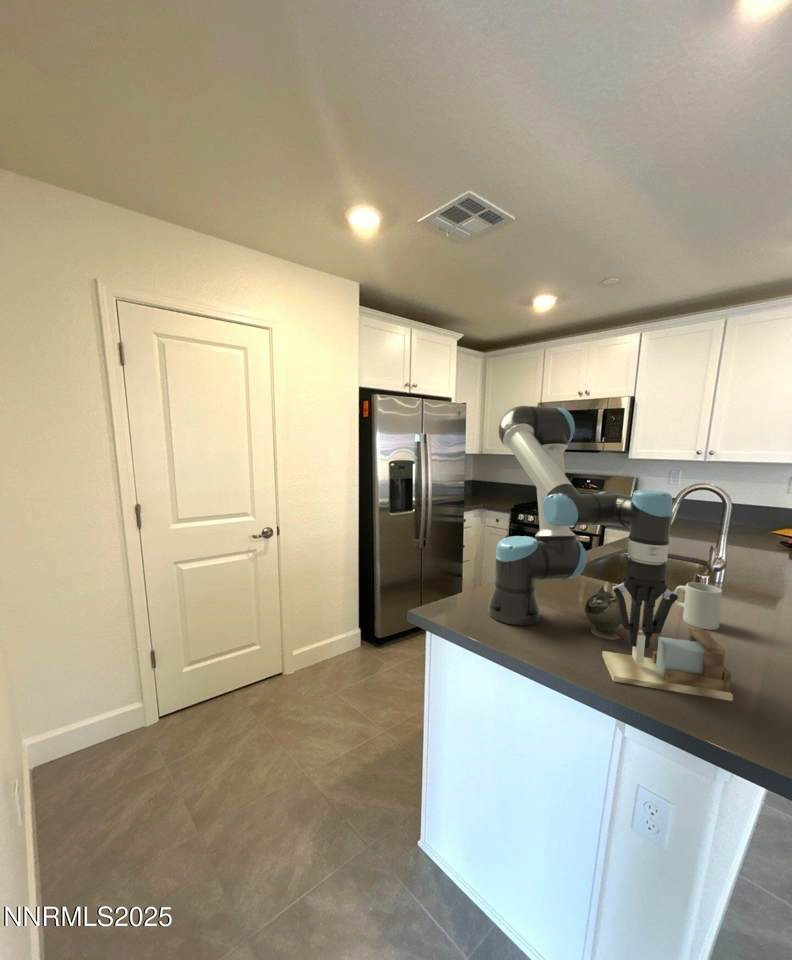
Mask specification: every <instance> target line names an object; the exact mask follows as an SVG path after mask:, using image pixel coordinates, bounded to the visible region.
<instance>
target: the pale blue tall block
mask: <svg viewBox="0 0 792 960" xmlns="http://www.w3.org/2000/svg"><path fill="white" fill-rule="evenodd" d="M656 651H657V662H656V666H657V668H658V669H659V671H660V672H661V674H662V675H663V677H664V678H665V669H671V670H677V671H684V672H690V673H697V674H702V672H703V662H704V652H705V649H704V648H703V647H702V646H701V645H700V644H699V643H698V642H695V641H688V639H680V638H679V639H677V638H673V637H665V636H658V641H657V650H656Z"/></svg>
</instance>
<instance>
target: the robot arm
mask: <svg viewBox="0 0 792 960" xmlns="http://www.w3.org/2000/svg"><path fill="white" fill-rule="evenodd" d="M575 430H576V426H575V420H574V417H573V415H572V414H571V413H570V412H569V411H568V410H567V409H565V408H562V407H556V406H533V405H531V406H530V405H519V406H514V407H513V408H511V409H509V410H507V411H506V412H505V414H504V415H503V416H502V417H501V419H500V421H499V425H498V438H499V441H500V442H501V444H502V445H503V447H504V448H505V449H507V450H508V451H510V452H512V453H513V455H514V456H515V458H516V459H517V460H518V462H519V464H520V466H521V467H522V469H524V471H525V473H526V474H527V475H528V477H529V478H530V480H531V481H532V483H533V484H534V486H535V487H536V497H537V507H538V508H537V509H538V511H537V512H538V522H539V523H538V524H539V525H538V526H539V531H537V532H536V534H535V535H534V536H535V537H533V536H527V535H523V536H521V535H514V536H513V535H512V536H507V537H504V538H502V539H501V540H499V541H498V542H497V544H496V551H495V570H494V571H495V576H494V578H495V579H494V588H493V590H492V594H491V595H490V598H489V600H488V604H487V613H488V615H489V616H490V617H491V618H492V619H494V620H495V621H498V622H501V623H503V624H509V625H513V626H530V625H534V624H536V623H538V622H539V621H540V618H541V616H540V615H541V610H540V607H539V602H538V599H537V595H536V582H537V581H539V582H540V581H553V580H563V581H566V580H568V579H575V578H577V577H579V576H581V574H582V573H583V571H584V570H585V567H586V563H587V552H586V549H585V548H584V545H583V543H582V542H580V541H578V540H577V537H576V533H574V532H573V531H572V530H571V529H570V527H573V526H601V525H602V526H606V525H607V526H609V525H615V526H619V527H623V528H626V529H629V535H628V546H627V556H628V558H627V559H626V568H625V577H624V578H623V579H622V583H620V584H618V585H616V584H613V585H611V588H610V589H612V591H613V594H614V595H616V599H617V604H618V610H619V615H620V620H621V624H620V625H621V626H622V627H623V629H624V630H625V631H629V634H628V643H629V645H630V646H631V647H632V653H631V655H632V657H633V658H634V660H635V662H638V663H643V659H644V657H645V656H644V655H645V649H649V648H650V644H651V643H650V642H651V638H652V637H653V636H654V635H655V634H657V635H660V634H661V633H662V631H663V628H664V625H665V622H666V620H667V618H668V615H669V614H670V611H671V609H672V605H673V604H674V603H675V601H676V600H677V599H678V596H677V595H676V594H675V591H673V590H670V589H668V587H667V584H666V577H667V569H668V568H667V566H668V565H667V564H666V562H667V561H668V555H669V545H670V544H669V543H670V535H671V525H672V518H673V514H674V511H673V496H672V495H671V493H669V492H666V491H663V490H662V491H661V490H652V489H636V490H634V491H633V493H632V495H626V494H622V493H617V492H614V491H600V492H597V493H580V492H579V491H578V490H577V488H575V486H574V485H573V484H572V482H571V481H570V480H569V478H568V477H567V475H566V473H565V471H566V470H565V460H564V452H565V451H566V450H567V449H568V446H569V443H570V442H571V441H572V439H573V438H574V434H575ZM626 591H627V592H628V594H629V595H630V597H631V598H630V599H631V604H630V617H629V614H628V610H627V604H626V600H625V596H624V595H625V594H626ZM661 596H662V598H661V599H660V602H659V604H658V607H657V610H656V611H655V607H656V601H657V600H658V599H659V598H660V597H661ZM642 606H643V611H642V620H641V622H642V623H641V629H640V619H641V610H642ZM654 611H655V612H656V613H655V615H654Z"/></svg>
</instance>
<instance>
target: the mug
mask: <svg viewBox="0 0 792 960" xmlns="http://www.w3.org/2000/svg"><path fill="white" fill-rule="evenodd" d="M681 591H683V592H685V593H684V602H682V601H680V597H679V596H680V592H681ZM674 593H675V594H676V595H677V596H678V599H677V600H676V601H675V602H674V603H675V605H676V606H677V607H679V608H681V609H683V613H682V620H683V622H684V623H686V624H688V625H690V626H692V627H694V628H696V629H700V630H708V631H709V630H710V631H715V630H718V629H719V628H720V623H721V622H720V620H721V612H722V611H721V609H722V600H723V589H721V588H720V587H717V586H715V585H711V584H707V583H702V582H693V581H692V582H687V583H686V585H678V586H676V588H675V589H674Z"/></svg>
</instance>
